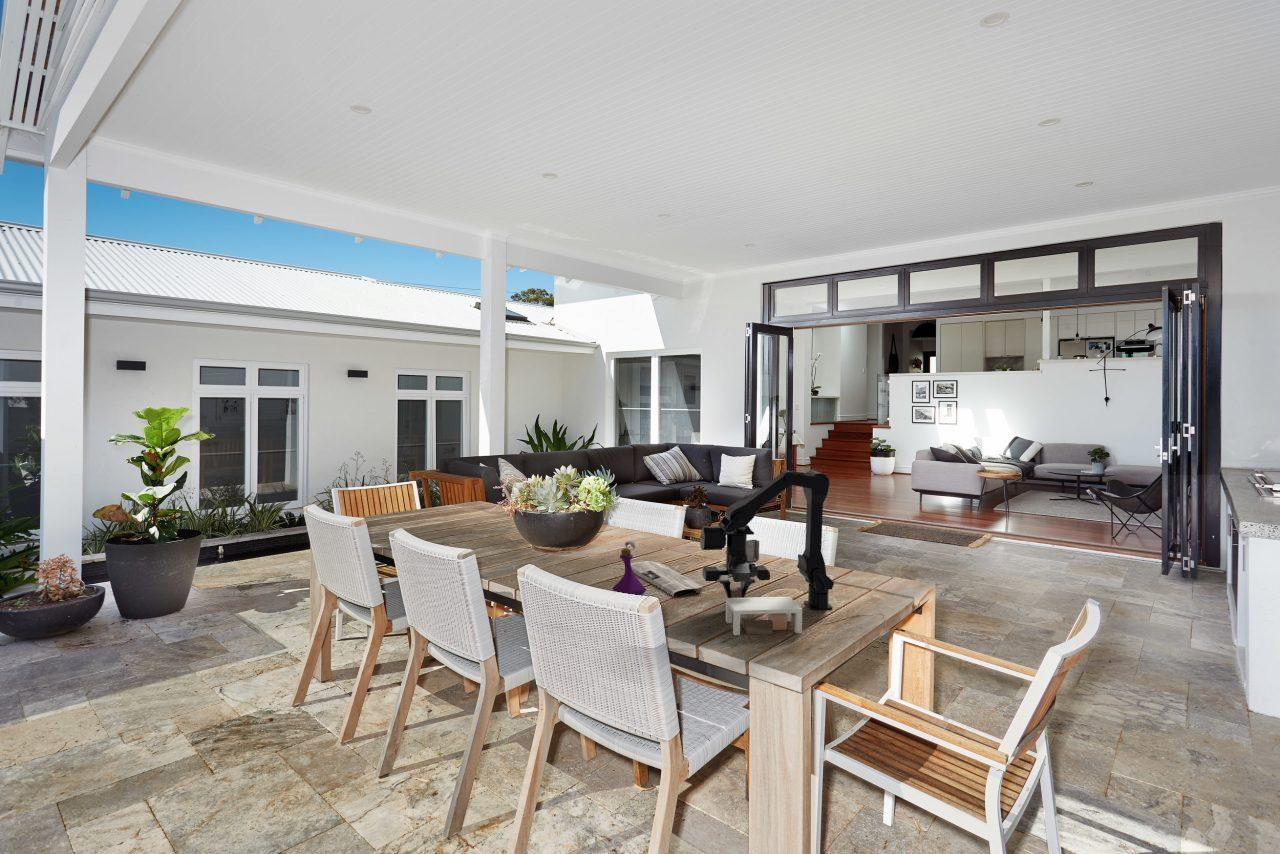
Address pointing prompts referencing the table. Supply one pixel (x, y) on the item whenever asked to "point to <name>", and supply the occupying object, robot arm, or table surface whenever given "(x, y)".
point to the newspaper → (665, 577)
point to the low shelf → (762, 609)
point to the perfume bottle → (629, 575)
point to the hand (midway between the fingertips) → (735, 602)
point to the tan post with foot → (752, 625)
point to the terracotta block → (778, 620)
